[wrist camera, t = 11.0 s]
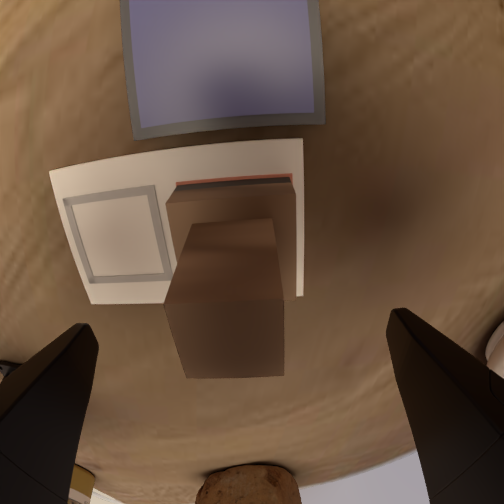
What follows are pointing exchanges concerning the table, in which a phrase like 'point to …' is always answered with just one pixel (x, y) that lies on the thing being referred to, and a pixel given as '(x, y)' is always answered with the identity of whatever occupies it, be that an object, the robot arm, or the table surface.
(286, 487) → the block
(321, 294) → the table surface
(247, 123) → the inkpad
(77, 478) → the bark patterned cylinder
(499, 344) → the flower vase
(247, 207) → the stamp
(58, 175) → the sheet
